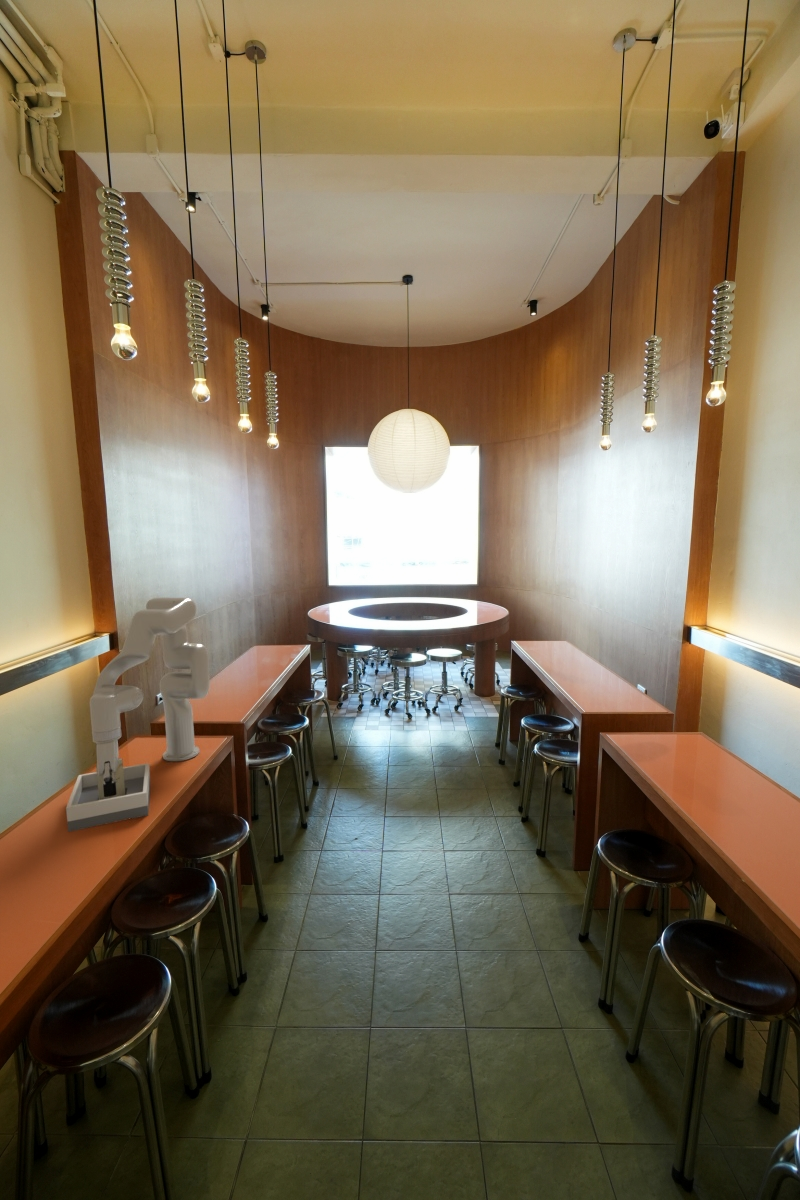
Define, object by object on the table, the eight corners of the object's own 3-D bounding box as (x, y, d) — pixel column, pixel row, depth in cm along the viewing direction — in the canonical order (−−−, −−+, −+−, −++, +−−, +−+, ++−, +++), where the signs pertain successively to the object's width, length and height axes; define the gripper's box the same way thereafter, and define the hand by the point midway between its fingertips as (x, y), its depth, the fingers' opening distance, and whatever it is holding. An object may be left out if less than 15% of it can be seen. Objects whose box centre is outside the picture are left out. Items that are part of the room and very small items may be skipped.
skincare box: (111, 806, 154) (108, 767, 152) (98, 804, 155) (95, 766, 153) (126, 795, 160) (123, 758, 158) (114, 794, 161) (110, 757, 159)
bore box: (80, 796, 163) (78, 775, 162) (150, 783, 171) (148, 763, 170) (68, 831, 143) (66, 808, 142) (148, 815, 151) (146, 792, 151)
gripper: (96, 726, 161) (100, 780, 163) (88, 746, 145) (93, 805, 147) (123, 722, 164) (127, 775, 166) (118, 742, 148) (123, 800, 150)
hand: (111, 789), depth 157 cm, fingers closed on skincare box, 7 cm apart
